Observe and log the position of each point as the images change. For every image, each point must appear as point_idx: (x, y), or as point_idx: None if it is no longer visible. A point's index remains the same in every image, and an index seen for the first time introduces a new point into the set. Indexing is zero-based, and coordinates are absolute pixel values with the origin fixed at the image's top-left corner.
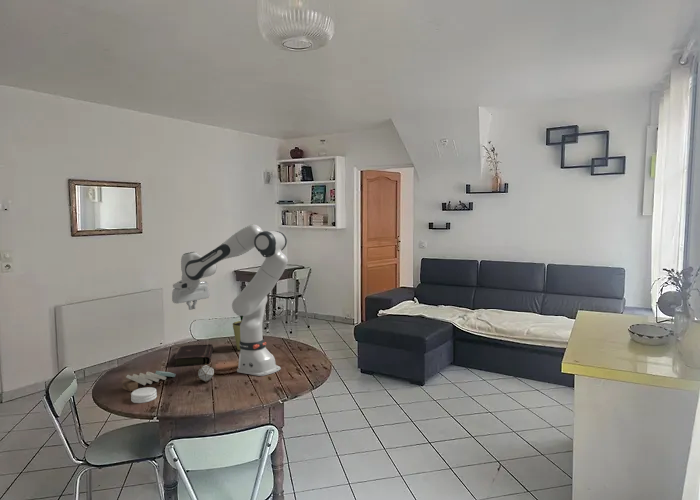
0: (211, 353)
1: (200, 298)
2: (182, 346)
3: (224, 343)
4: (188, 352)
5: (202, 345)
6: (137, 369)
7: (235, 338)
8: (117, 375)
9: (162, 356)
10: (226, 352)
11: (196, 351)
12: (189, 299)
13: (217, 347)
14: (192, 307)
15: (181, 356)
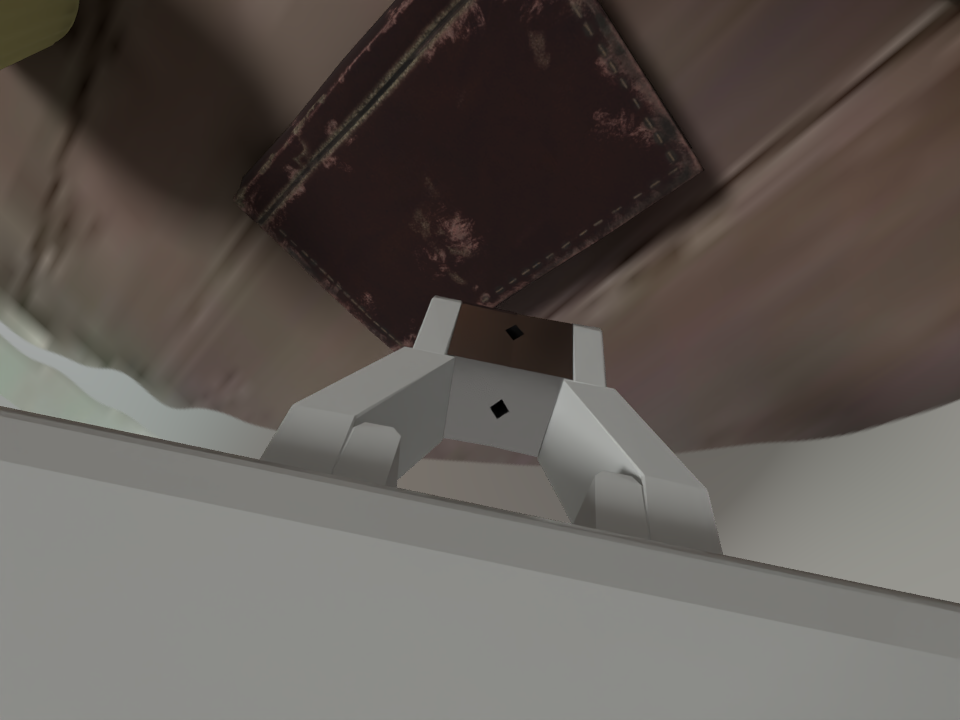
0: (355, 45)
1: (18, 442)
2: (410, 347)
3: (102, 231)
4: (499, 198)
5: (304, 242)
6: (798, 337)
7: (10, 24)
8: (937, 358)
9: None
10: (200, 24)
11: (444, 158)
12: (788, 659)
13: (187, 207)
14: (528, 343)
15: (619, 162)
